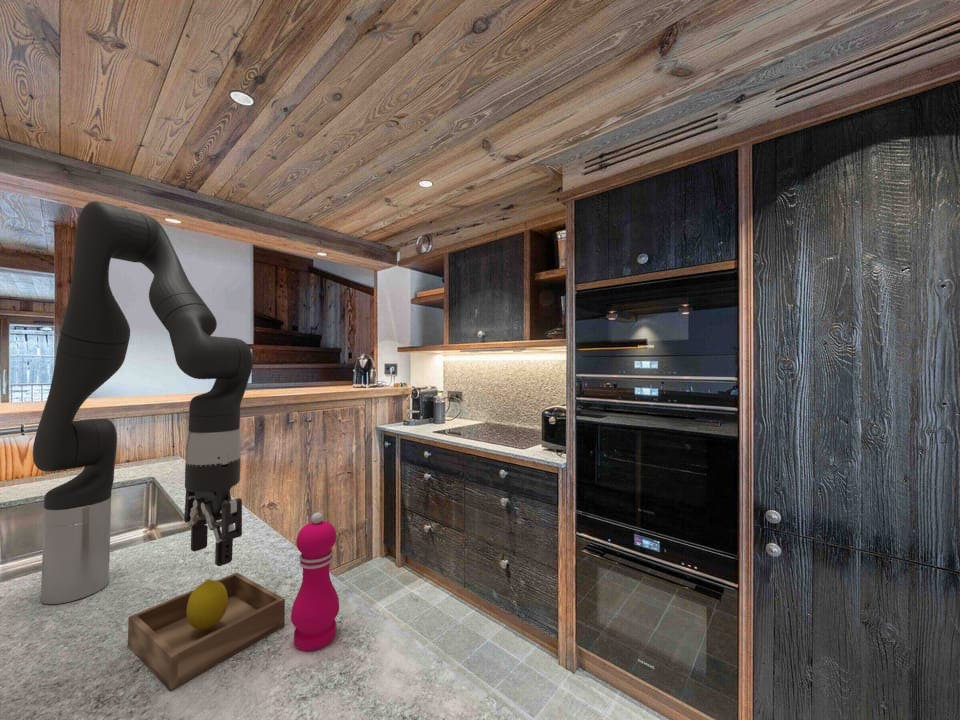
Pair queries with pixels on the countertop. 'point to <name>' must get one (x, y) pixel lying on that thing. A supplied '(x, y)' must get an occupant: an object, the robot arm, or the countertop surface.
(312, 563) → the pepper mill
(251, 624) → the tray
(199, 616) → the lemon
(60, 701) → the countertop surface
